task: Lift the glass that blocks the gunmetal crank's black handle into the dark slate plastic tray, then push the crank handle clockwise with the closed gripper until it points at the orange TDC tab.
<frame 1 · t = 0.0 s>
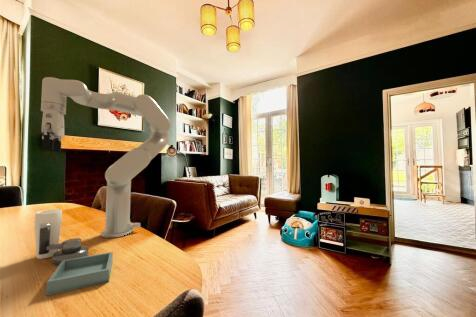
hand: (51, 150, 81), 37 cm above the table, tool pointing down, fingers open, 9 cm apart
drinking glass: (47, 256, 67), on the table
crank: (61, 237, 65), point 7 cm above the table, hinge at 74.0°
crank stand: (71, 258, 65), on the table
tray: (84, 276, 55), on the table
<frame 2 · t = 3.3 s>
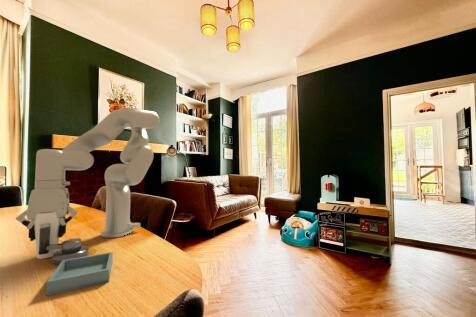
hand: (47, 237, 68), 6 cm above the table, tool pointing down, fingers closed on drinking glass, 6 cm apart
drinking glass: (47, 256, 67), on the table, touching gripper
everything else where it was.
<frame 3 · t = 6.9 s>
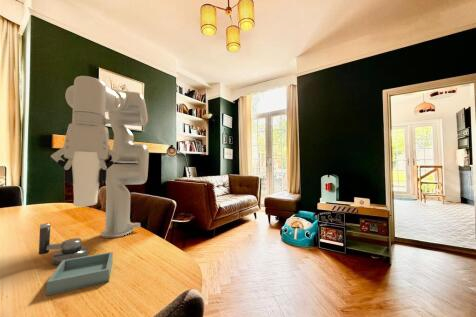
hand: (86, 183, 56), 26 cm above the table, tool pointing down, fingers closed on drinking glass, 6 cm apart
drinking glass: (85, 205, 56), point 19 cm above the table, touching gripper
everything else where it was.
when the fingers open (8 cm above the table, at t = 10.8 s): drinking glass drops 1 cm, resting on tray.
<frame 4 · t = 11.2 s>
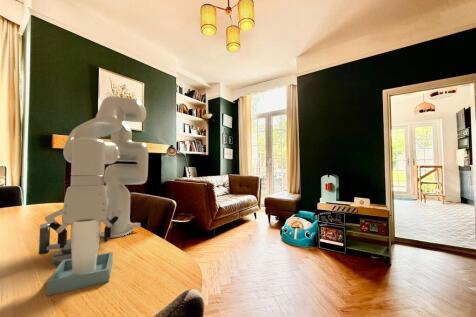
hand: (85, 243, 55), 9 cm above the table, tool pointing down, fingers open, 9 cm apart
drinking glass: (84, 274, 55), point 1 cm above the table, touching tray
everything else where it was.
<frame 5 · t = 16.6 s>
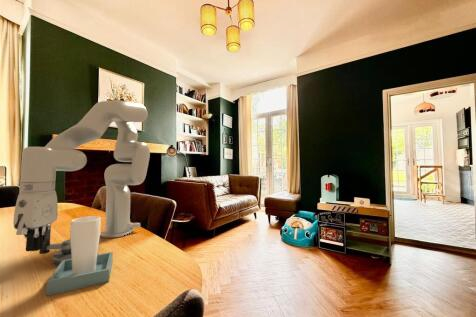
hand: (34, 249, 59), 6 cm above the table, tool pointing down, fingers closed
crank: (61, 237, 65), point 7 cm above the table, hinge at 71.2°, touching gripper
everything else where it was.
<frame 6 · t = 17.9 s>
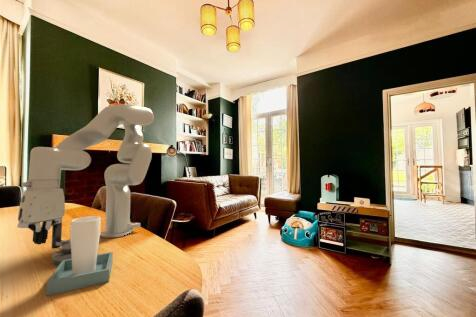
hand: (39, 243, 63), 6 cm above the table, tool pointing down, fingers closed
crank: (65, 235, 66), point 7 cm above the table, hinge at 35.9°, touching gripper
everything else where it was.
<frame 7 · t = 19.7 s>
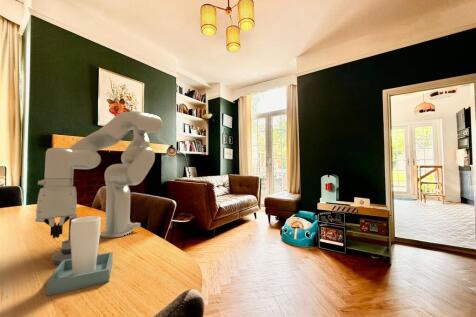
hand: (56, 236, 68), 6 cm above the table, tool pointing down, fingers closed
crank: (72, 233, 68), point 7 cm above the table, hinge at -1.2°, touching gripper
everything else where it was.
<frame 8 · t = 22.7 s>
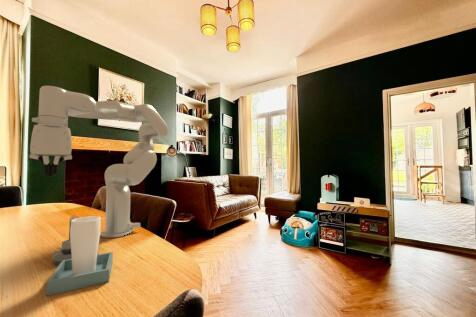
hand: (50, 176, 68), 27 cm above the table, tool pointing down, fingers closed
crank: (72, 233, 68), point 7 cm above the table, hinge at -2.2°
everything else where it was.
at the end: drinking glass 0.1 cm off-centre on the tray, point 0.6 cm above the tray's base; drinking glass tilted 0°; crank at -2° (first picture: +74°) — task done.
